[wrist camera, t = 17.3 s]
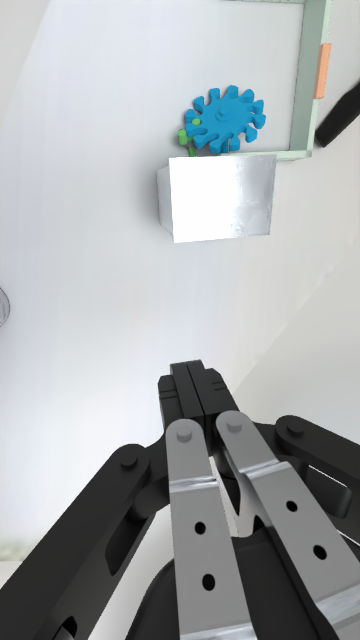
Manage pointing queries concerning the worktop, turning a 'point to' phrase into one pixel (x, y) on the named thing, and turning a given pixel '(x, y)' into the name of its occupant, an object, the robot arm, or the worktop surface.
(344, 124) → the electric trimmer
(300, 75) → the bay
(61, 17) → the worktop surface
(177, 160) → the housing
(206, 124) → the gear
